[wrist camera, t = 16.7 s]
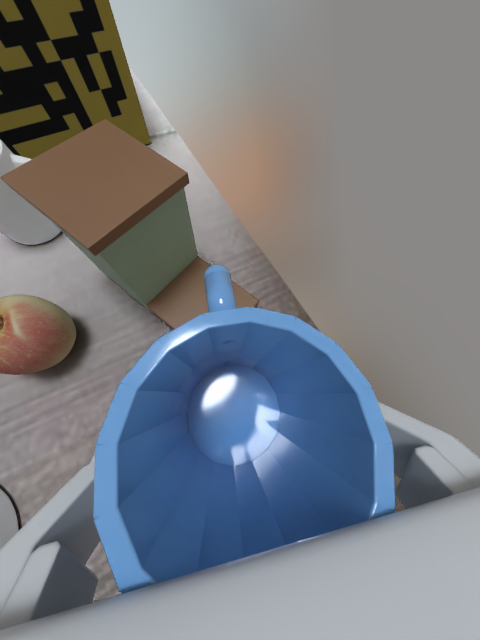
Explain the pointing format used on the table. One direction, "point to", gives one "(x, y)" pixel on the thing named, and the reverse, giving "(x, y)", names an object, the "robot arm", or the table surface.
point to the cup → (235, 444)
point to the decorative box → (62, 74)
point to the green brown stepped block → (124, 217)
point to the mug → (21, 208)
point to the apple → (33, 334)
